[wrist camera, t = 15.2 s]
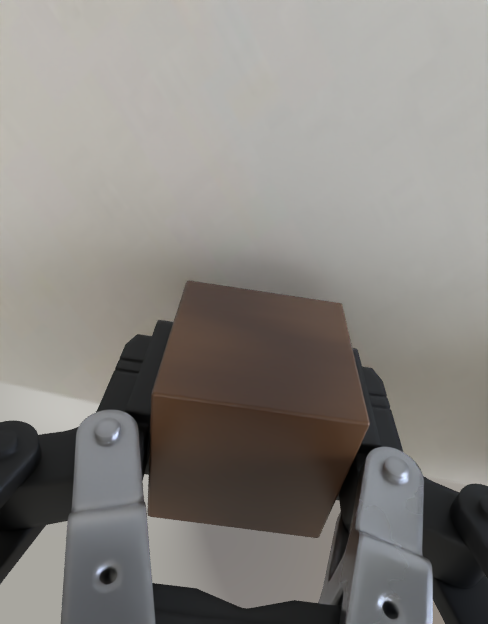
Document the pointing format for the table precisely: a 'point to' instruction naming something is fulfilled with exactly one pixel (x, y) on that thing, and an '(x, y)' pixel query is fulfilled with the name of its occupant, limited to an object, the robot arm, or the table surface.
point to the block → (254, 411)
